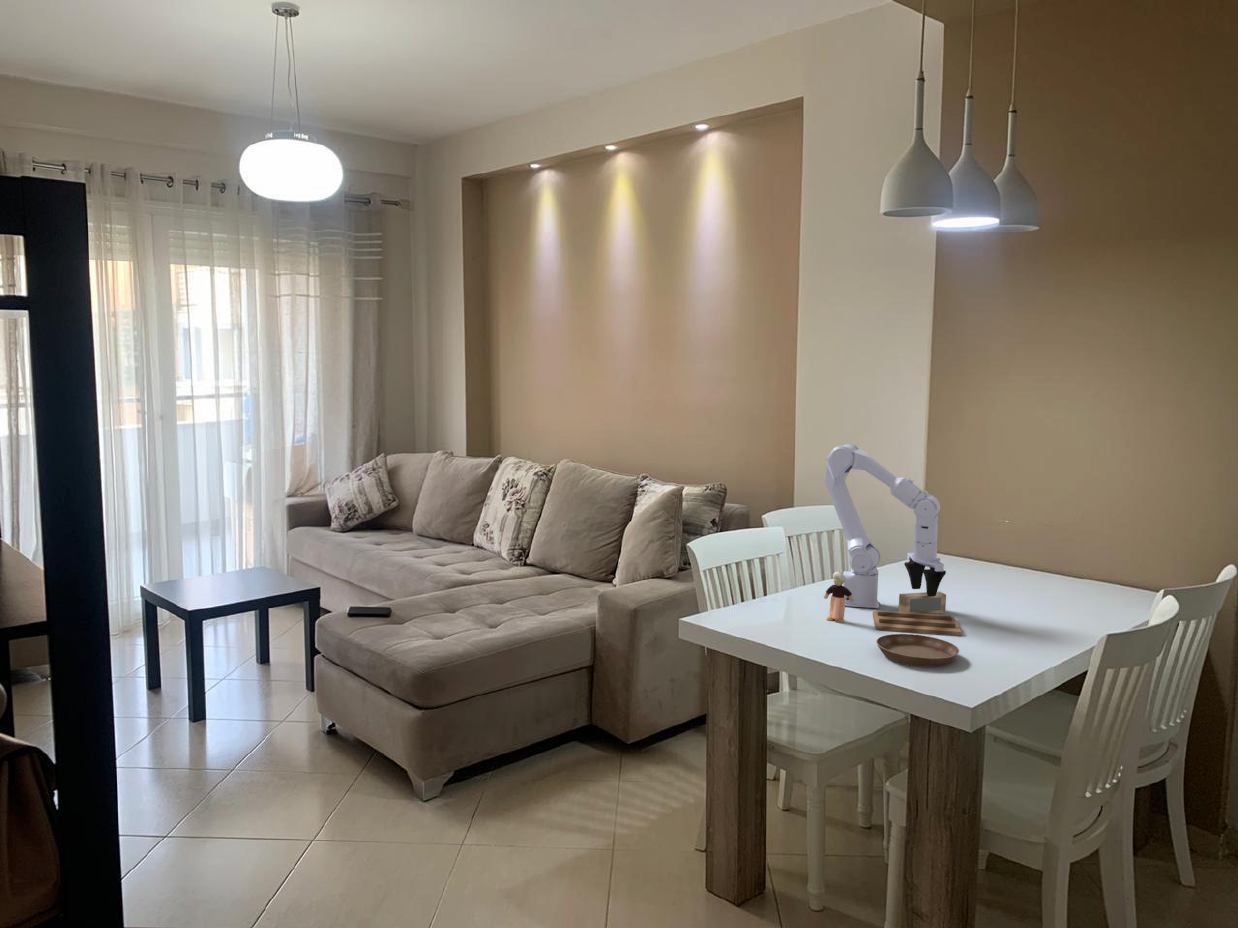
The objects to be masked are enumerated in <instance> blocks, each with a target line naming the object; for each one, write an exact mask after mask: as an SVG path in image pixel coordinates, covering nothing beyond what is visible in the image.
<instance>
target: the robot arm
mask: <svg viewBox="0 0 1238 928" xmlns="http://www.w3.org/2000/svg"><path fill="white" fill-rule="evenodd" d="M851 470H857V471H858V470H859V471H865V472H867V473H868V474H870V475H871V476H873V477H874V478H875V479H876V480H878V481H880V482H881V483H882V484H885V485H886V486H887V487H889V489H890V495H892V496H893V497H894V498H896V499H897V500H899V501H900V502H901V503H902V504H904V505H905V506H907V507H908V508H909V509H910V510H911V509H912V510H913V513H914V515H915V524H914V541H913V543H914V544H913V552H907V557H906V560H907V561H906V562H904V564H903V565H904V566H905V569H906V571H907V574H908V577H909V581H910V585H911V589H912V590H921V586H922V582H923V576H924V579H925V585H926V587H925V588H926V592H927V596H936V593H937V592H938V590H939V588H940V587H939V586H940V584H941V582H942V580H943V578H944V576H946V574H947V571H946V570H944V569H945V565H944V563H943V562H941V558H940V557H938V537H939V535H938V532H939V524H938V522H939V518H938V516H939V515H938V514H939V513H940V509H941V504H940V501H939V499H938V498H937V497H936V496H935V495H933V494H929V491H927V490H923V489H921V488H920V487H919V486H917V485H916V484H915V483H914V480H913V479H912V478H906V477H905V476H902V477H898V476H896V475H895V474H893V472H891V471H890V470H889V469H887V468H886V467H885V466H884V465H882V463H880V462H879V461H877V460H876V459H875V458H874V457H872V456H871V455H870V454H869V453H867V452H866V451H865V450H863V449H862V448H858V447H857V445H855V444H853V443H844V444H842V445H838V446H835V447H834V448H833V449H831V451H830V453H829V454H828V456H827V457H826V467H825V472H824V473H825V474H824V478H823V479H824V481H823V482H824V484H825V487H826V489H827V492H828V494H829V497H830V499H831V502H832V504H833V507H834V510H835V513H836V514H837V517H838V520H839V522H840V525H841V528H842V530H843V532H844V535H845V538H846V539H847V547H848V548H847V551H848V553H849V564H850V571H848V570H847V571H846V570H844V571H843V572H842V574H843V575H844V576H845V577H846V581H845V582H844V583H843V584H842V586H844V587H846V588H847V589H848V590H849V591H850V592H851V593H852V597H853V599H854V601H853V602H850V599H849V598H848V597H847V596H845V595H844V598H845V607H853V608H854V607H855V608H869V609H871V608H872V609H879V608H880V603H879V600H878V589H879V570H878V568H877V566H878V564H879V563H880V561H881V553H880V551H879V550H878V549H877V548H876V546H874V544H873V543H872V539H871V538H870V537H869V536H868V535H867V533H866V532H865V529H864V527H863V524H862V521H861V519H860V516H859V513H858V511H857V509H856V506H855V503H854V501H853V499H852V496H851V493H850V491H849V489H848V486H847V483H846V479H847V477H848V475H849V473H850V471H851ZM926 567H927V569H926ZM928 568H929V569H928Z"/></svg>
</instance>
